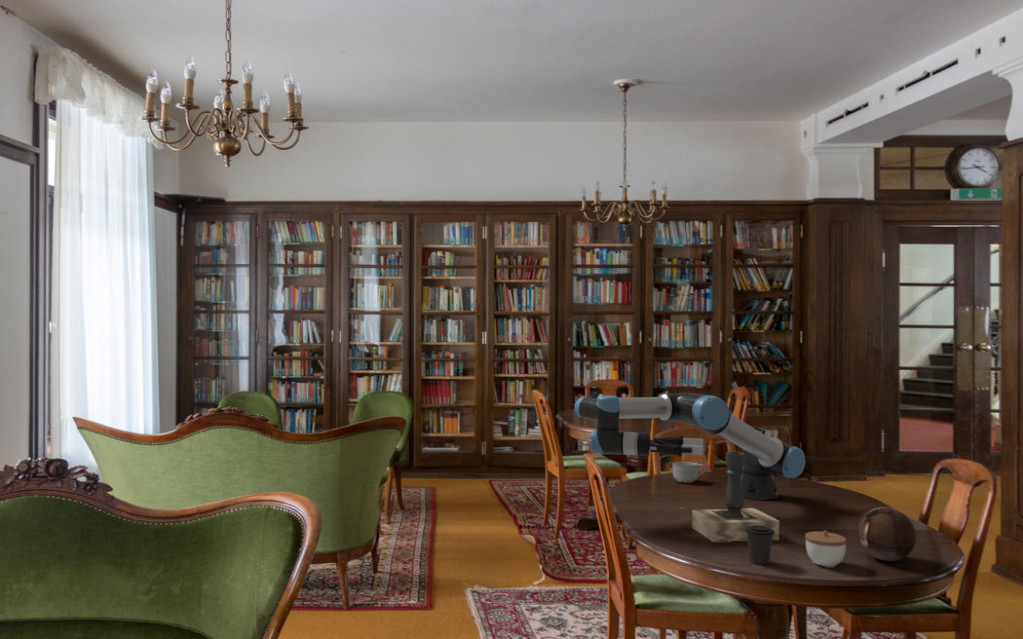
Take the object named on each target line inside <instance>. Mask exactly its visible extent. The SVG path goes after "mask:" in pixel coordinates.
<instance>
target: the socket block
mask: <svg viewBox="0 0 1023 639" xmlns="http://www.w3.org/2000/svg"><path fill="white" fill-rule="evenodd" d="M727 512H728V510H727V508H714V509H710V508H709V509H692V510H691V529H693V530H694V529H695V530H694V531H696V532H697V531H698V532H699V534H700V533H701V534H702V536H703V535H704V536H705V537H704V536H703V537H704V538H706V537H707V538H708V539H707V538H706V539H707V540H709V539H710V540H711V541H710V540H709V541H710V542H712V541H713V542H716V543H730V542H731V541H741V542H748V540H747V532H746V531H745V529H746V527H748V526H754V525H760V526H765V527H768V528H771V529H773V530H774V532H775V533H774V534H773V538H772V541H779V540H780V520H778V519H776V518H775V517H772V516H771V515H769V514H766V513H765V512H763V511H761V510H758V509H757V508H755V507H747V508H746V507H743V508H742V509H741V513H742V515H743V518H730V519H728V518H727V517H725V514H726V513H727ZM698 532H697V533H698ZM701 534H700V535H701ZM727 541H728V542H727ZM713 542H712V543H713ZM731 543H732V542H731Z"/></svg>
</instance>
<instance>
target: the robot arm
mask: <svg viewBox="0 0 1023 639" xmlns="http://www.w3.org/2000/svg"><path fill="white" fill-rule="evenodd" d="M574 412H575V414H576V416H577V417H579V418H581V419H583V420H589V421H593V422H596V430H593V431H592V432H591V433H590V440H589V442H590V443H589V444H590V446H589V447H590V451H591V452H592V453H593V454H601V455H602V454H603V455H621V456H622V455H626V456H627V457H631V455H632V456H642V457H648V456H650V452H651V453H658V454H659V453H660V454H666V455H667V454H668V455H674V456H677V457H682V455H692V456H693V455H695V456H696V455H697V456H703V455H704V439H703V438H689V437H688V438H686V437H685V438H684V435H680V436H673V437H653V438H652V439H651V436H650V433H649V432H638V433H637V432H635V431H633V432H632V431H631V432H630V431H620V419H621V420H622V419H658V418H659V419H660V420H662V421H671V422H677V423H681V424H685V425H689V426H694V427H698V428H699V429H701V430H703V431H704V432H707V434H709V435H712V436H717V435H719V436H721V437H722V438H724V439H726V440H728V442H731V443H732V444H734V445H736V446H738V447H739V448H741V449H742V452H741V453H744V464H743V467H742V469H741V471H742V472H743V475H742V476H741V489H742V493H743V498H744V499H751V500H761V501H769V500H777V499H778V498H779V491H778V487H777V484H776V482H775V478H774V475H777V476H781V477H784V478H787V479H795V478H798V476H800V475H801V474H803V472H804V469H805V465H806V455H805V453H804V451H803V450H802V449H801V448H799V447H797V446H791V445H789V444H788V443H786V442H784V441H783V440H781V439H779V438H778V437H771V436H767V435H765V434H764V433H762V432H760V431H759V430H757V429H755V428H754V427H752V426H751V425H749V424H748V423H746V421H745V422H744V421H743V420H742V419H740V418H738V417H736V416H735V415H734V414H732V411H731V409H730V408H729V406H728V404H727V403H726V401H724V400H723V399H722V398H720V397H718V396H715V395H711V394H710V395H709V394H702V393H694V392H679V393H665V394H664V393H663V394H660V395H659V396H654V397H653V396H651V397H650V396H648V397H646V396H645V397H643V396H641V397H618V396H616V395H599V396H597V397H589V396H582V397H579V398H577V400H576V401H575V403H574Z"/></svg>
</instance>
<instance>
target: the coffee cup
mask: <svg viewBox="0 0 1023 639" xmlns="http://www.w3.org/2000/svg"><path fill="white" fill-rule="evenodd" d="M745 531H746V532H747V540H748V541H747V548H748V550H747V551H748V557H749V559H748V560H749V563H751V562H752V563H751V564H753V563H755V564H754V565H757V564H761V565H760V566H765V565H764V564H768V565H769V564H770V559H771V552H772V545H773V540H772V538H773V534H774V533H775V532H774V530H773V529H771V528H768V527H765V526H760V525H754V526H748V527H746V529H745Z"/></svg>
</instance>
